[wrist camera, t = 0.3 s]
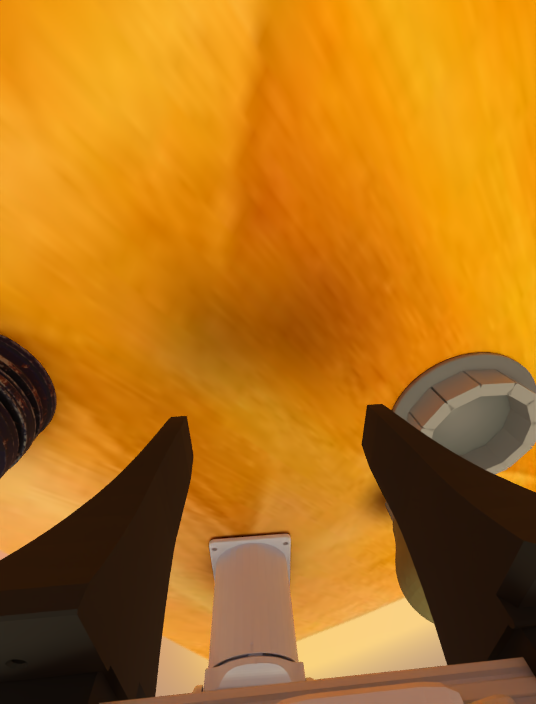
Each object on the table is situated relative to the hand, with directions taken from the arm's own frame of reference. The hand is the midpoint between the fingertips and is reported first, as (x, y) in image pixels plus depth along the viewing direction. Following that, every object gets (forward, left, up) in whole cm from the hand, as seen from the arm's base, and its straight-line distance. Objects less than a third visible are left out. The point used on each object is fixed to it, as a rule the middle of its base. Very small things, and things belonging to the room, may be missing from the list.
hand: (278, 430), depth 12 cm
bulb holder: (-8, -16, -10) cm, 21 cm away
